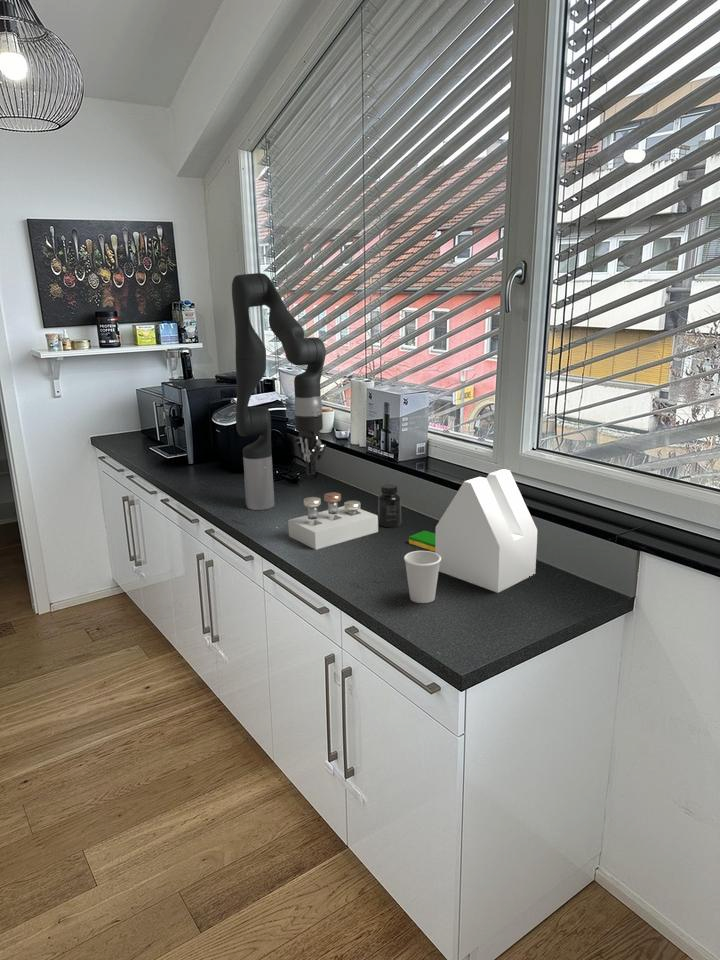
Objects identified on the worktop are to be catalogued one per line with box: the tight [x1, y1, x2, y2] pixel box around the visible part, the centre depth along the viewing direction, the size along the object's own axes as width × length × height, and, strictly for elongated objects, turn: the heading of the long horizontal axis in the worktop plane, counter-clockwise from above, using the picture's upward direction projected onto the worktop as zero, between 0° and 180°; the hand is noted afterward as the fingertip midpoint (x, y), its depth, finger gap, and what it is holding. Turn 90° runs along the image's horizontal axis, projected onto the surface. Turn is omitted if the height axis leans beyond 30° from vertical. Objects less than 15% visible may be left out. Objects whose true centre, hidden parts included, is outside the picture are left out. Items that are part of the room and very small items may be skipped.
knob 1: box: [303, 496, 322, 520], centre depth 190 cm, size 5×5×6 cm
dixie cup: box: [403, 550, 441, 604], centre depth 153 cm, size 8×8×10 cm
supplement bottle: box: [377, 483, 402, 528], centre depth 203 cm, size 7×7×12 cm
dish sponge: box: [408, 530, 436, 553], centre depth 186 cm, size 7×14×2 cm, turn 44°
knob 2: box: [343, 500, 362, 516], centre depth 200 cm, size 5×5×6 cm
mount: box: [287, 505, 379, 550], centre depth 196 cm, size 14×22×5 cm, turn 127°
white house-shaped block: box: [434, 468, 538, 594], centre depth 165 cm, size 19×15×25 cm
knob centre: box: [323, 491, 342, 514], centre depth 194 cm, size 5×5×6 cm
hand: (311, 474), depth 188 cm, fingers closed
